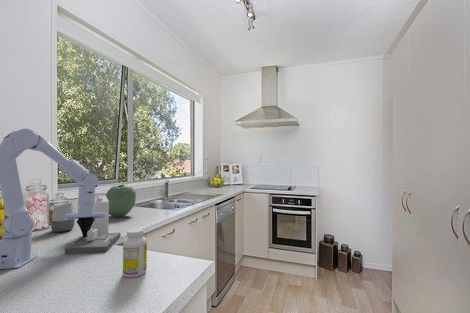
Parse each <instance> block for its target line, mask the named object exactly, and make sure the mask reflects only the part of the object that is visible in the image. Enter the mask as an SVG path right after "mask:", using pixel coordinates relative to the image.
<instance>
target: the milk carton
mask: <svg viewBox="0 0 470 313" xmlns="http://www.w3.org/2000/svg"><path fill="white" fill-rule="evenodd" d="M105 195H106V192H104V191H103V192H97V193H96V192H95V212H102V213H107V217H106V218H95V220H94V222H93V224H92V226H91V228H90V230H91V229H98V233H109V216H110V215H109V200H108V199H107V197H106V196H105Z"/></svg>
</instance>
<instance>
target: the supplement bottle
mask: <svg viewBox="0 0 470 313" xmlns="http://www.w3.org/2000/svg"><path fill="white" fill-rule="evenodd" d="M144 232H145V231H144V228H140V227H139V228H138V227H136V228H131V229H128V230H127V231H126V236H127V238H126V239H124V241H123V243H122V244H123V245H122V275H123V276H124V277H125V278H136V277H140V276H142V275H144V274H145V273H146V272H147V266H148V265H147V262H148V261H147V260H148V259H147V258H148V256H147V255H148V250H147V249H148V248H147V247H148V240H147V238H146V237H145V236H144Z"/></svg>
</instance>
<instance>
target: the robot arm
mask: <svg viewBox="0 0 470 313" xmlns="http://www.w3.org/2000/svg"><path fill="white" fill-rule="evenodd" d="M27 150H31V151H36V152H39V153H42V154H44V155H45V156H47V157H48V158H49V159H51V160H52V161H54V162H55V163H57V164H58V165H59V166H60V170H61V172H63V173H64V174H66V175H67V176H68V177H69V178H71V179H72V180H74V181H75V184H76V185H78V196H77V198H78V202H77V203H78V204H77V212H74V213H71V214H66V215H65V219H75V220H76V223H77V225H78V227H79V228H80V230H81V234H82V236H83V237H87V232H88V231H89V230H90V228H91V226H92V224H93V222H94V220H95V218H106V217H107V213H102V212H95V193H96V186H97V185H98V184H99V179H98V176H96V174H94V173H91V172H90V169H88V168H85V167H84V166H83V165H81V162H80V161H79V160H75V159H69V158H67V157H66V156H65V155H64V154H63V153H61V151H59V149H57V148H56V147H55V146H54V145H52V144H51V143H50V142H49V141H48V140H46V139H45V138H44V137H43V136H42V135H40V134H38V133H37V132H36V131H35V130H32V129H30V128H21V129H19V130H13V131H12V132H10V133H8V134H7V135H5V136H4V137H3V138H2V141H1V142H0V193H1V197H2V202H3V206H4V208H3V216H4V217H3V220H2V222H1V226H2V227H1V228H3V229H4V230H5V232H3V234H2V238H1V240H0V270H2V269H3V270H6V269H19V268H20V267H23V266H24V265H25V264H28V263H29V262H30V261H32V260H34V259H35V258H37V257H38V255H37V254H35V255H32V239H33V233H32V232H33V231H32V230H33V229H34V226H35V222H34V220H33V218H32V217H30V215H29V211H28V209H27V207H26V205H25V199H24V195H23V190H22V184H21V181H20V180H21V179H20V175H19V170H18V163H17V160H16V159H17V158H18V157H19V156H21V155H22V154H23V152H26V151H27Z"/></svg>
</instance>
